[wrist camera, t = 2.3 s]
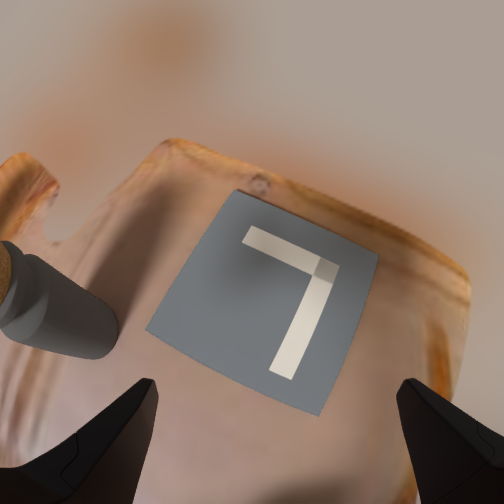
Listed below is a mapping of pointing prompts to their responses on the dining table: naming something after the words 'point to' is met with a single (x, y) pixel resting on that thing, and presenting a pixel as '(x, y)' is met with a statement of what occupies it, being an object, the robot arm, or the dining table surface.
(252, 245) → the pad
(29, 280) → the bottle
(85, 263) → the dining table surface
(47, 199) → the dining table surface
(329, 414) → the dining table surface
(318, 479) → the dining table surface
